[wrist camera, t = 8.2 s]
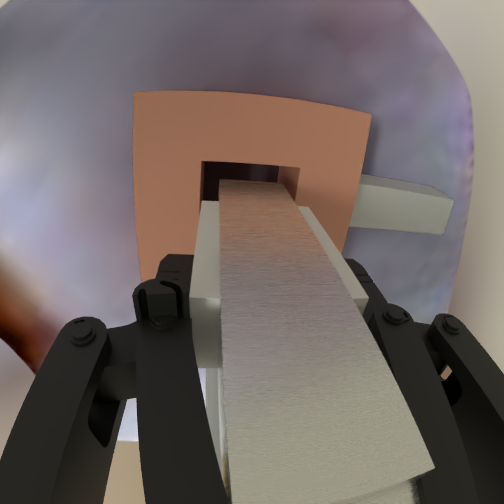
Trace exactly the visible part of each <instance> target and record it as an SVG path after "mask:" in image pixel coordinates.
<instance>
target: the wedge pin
mask: <svg viewBox="0 0 504 504" xmlns="http://www.w3.org/2000/svg"><path fill="white" fill-rule="evenodd" d="M218 201H219V263H220V313H219V339H218V368H217V375H218V404H219V427H220V446H221V464H222V479H223V483H224V487H225V491H226V494H227V498H228V501H229V504H420V502H419V496H418V490H417V485H416V480H418V479H419V478H421V477H423V476H424V475H426V474H427V473H429V472H430V471H432V470H433V469H434V468H435V467H434V464H433V462H432V459H431V457H430V455H429V452H428V450H427V447H426V445H425V443H424V441H423V438H422V436H421V434H420V431H419V429H418V427H417V425H416V423H415V420H414V418H413V416H412V414H411V412H410V409H409V407H408V405H407V403H406V401H405V399H404V397H403V395H402V393H401V390H400V388H399V386H398V384H397V382H396V380H395V378H394V376H393V374H392V372H391V370H390V368H389V366H388V364H387V362H386V360H385V358H384V356H383V354H382V352H381V351H380V349H379V347H378V345H377V343H376V341H375V339H374V337H373V335H372V333H371V332H370V330H369V328H368V326H367V324H366V322H365V320H364V319H363V317H362V315H361V313H360V311H359V309H358V308H357V306H356V304H355V302H354V300H353V299H352V297H351V295H350V293H349V292H348V290H347V288H346V286H345V285H344V283H343V281H342V279H341V278H340V276H339V274H338V272H337V271H336V269H335V267H334V266H333V264H332V262H331V260H330V259H329V257H328V255H327V254H326V252H325V250H324V249H323V247H322V245H321V244H320V242H319V240H318V239H317V237H316V236H315V234H314V232H313V231H312V229H311V227H310V226H309V224H308V223H307V221H306V219H305V218H304V216H303V215H302V213H301V211H300V210H299V208H298V207H297V205H296V204H295V202H294V200H293V199H292V197H291V196H290V194H289V193H288V191H287V190H286V188H285V187H284V185H283V184H282V183H274V182H260V181H245V180H228V179H220V180H219V196H218Z"/></svg>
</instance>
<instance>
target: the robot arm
mask: <svg viewBox="0 0 504 504" xmlns="http://www.w3.org/2000/svg"><path fill="white" fill-rule="evenodd" d="M297 207H298V208H299V210H300V211H301V213H302V215H303V216H304V218H305V219H306V221H307V223H308V224H309V226H310V227H311V229H312V231H313V232H314V234H315V236H316V237H317V239H318V240H319V242H320V244H321V245H322V247H323V249H324V250H325V252H326V254H327V255H328V257H329V259H330V260H331V262H332V264H333V266H334V267H335V269H336V271H337V272H338V274H339V276H340V278H341V279H342V281H343V283H344V285H345V286H346V288H347V290H348V292H349V293H350V295H351V297H352V299H353V300H354V302H355V304H356V306H357V308H358V309H359V311H360V313H361V315H362V317H363V319H364V320H365V322H366V324H367V326H368V328H369V330H370V332H371V333H372V335H373V337H374V339H375V341H376V343H377V345H378V347H379V349H380V351H381V352H382V354H383V356H384V358H385V360H386V362H387V364H388V366H389V368H390V370H391V372H392V374H393V376H394V378H395V380H396V382H397V384H398V386H399V388H400V390H401V393H402V395H403V397H404V399H405V401H406V403H407V405H408V407H409V409H410V412H411V414H412V416H413V418H414V420H415V423H416V425H417V427H418V429H419V431H420V434H421V436H422V438H423V441H424V443H425V445H426V447H427V450H428V452H429V455H430V457H431V459H432V462H433V464H434V467H435V468H434V469H433V470H432V471H430V472H429V473H427V474H426V475H424V476H423V477H421V478H419V479H418V480H416V485H417V490H418V496H419V502H420V504H504V374H503V373H502V371H501V370H500V369H499V367H498V366H497V365H496V363H495V362H494V361H493V360H492V358H491V357H490V356H489V354H488V353H487V352H486V351H485V349H484V348H483V347H482V346H481V345H480V343H479V342H478V341H477V340H476V338H475V337H474V336H473V335H472V334H471V332H470V331H469V330H468V329H467V328H466V326H465V325H464V324H463V323H462V322H461V321H460V320H459V319H457V318H456V317H454V316H453V315H449V314H438V315H436V317H435V318H434V320H433V322H432V324H431V325H429V324H423V323H418V322H414V321H413V319H412V317H411V316H410V314H409V313H408V312H407V311H406V310H404V309H403V308H401V307H399V306H397V305H394V304H389V303H387V301H386V300H385V298H384V297H383V295H382V294H381V292H380V291H379V289H378V288H377V286H376V285H375V283H373V280H372V279H371V278H370V276H368V273H367V272H366V270H365V269H364V268H363V266H362V265H360V264H359V263H358V262H356V261H355V260H353V259H344V258H343V257H342V255H341V254H340V252H339V251H338V249H337V248H336V246H335V245H334V243H333V242H332V240H331V239H330V237H329V236H328V234H327V233H326V231H325V230H324V229H323V227H322V226H321V224H320V223H319V221H318V220H317V218H316V217H315V216H314V214H313V213H312V211H311V210H310V209H309V207H304V206H297ZM132 297H133V302H134V308H135V314H136V319H137V321H136V322H133V323H131V324H129V325H125V326H121V327H115V328H109V329H107V328H106V326H105V324H104V323H103V322H102V321H101V320H100V319H97V318H94V317H80V318H76V319H73V320H72V321H70V322H68V323H67V324H66V325H65V326H64V327H63V328H62V329H61V331H60V333H59V334H58V336H57V338H56V340H55V341H54V343H53V345H52V347H51V349H50V350H49V352H48V354H47V356H46V358H45V360H44V362H43V364H42V365H41V367H40V369H39V371H38V373H37V375H36V377H35V379H34V381H33V383H32V385H31V387H30V390H29V392H28V394H27V396H26V398H25V400H24V402H23V405H22V407H21V409H20V411H19V413H18V416H17V418H16V420H15V423H14V425H13V428H12V430H11V433H10V435H9V438H8V440H7V443H6V446H5V448H4V451H3V454H2V456H1V459H0V504H103V501H104V496H105V490H106V485H107V480H108V476H109V471H110V466H111V462H112V458H113V453H114V449H115V444H116V441H117V437H118V433H119V429H120V425H121V421H122V417H123V413H124V409H125V406H126V402H127V399H131V398H136V399H137V422H138V438H139V450H140V461H141V471H142V479H143V487H144V494H145V502H146V504H229V501H228V498H227V494H226V491H225V487H224V483H223V480H222V476H221V472H220V468H219V464H218V460H217V456H216V452H215V448H214V444H213V439H212V435H211V431H210V426H209V422H208V417H207V413H206V408H205V403H204V398H203V393H202V388H201V383H200V378H199V373H198V368H218V339H219V313H220V263H219V201H202V203H201V210H200V216H199V223H198V230H197V238H196V245H195V253H194V255H191V254H167V255H166V256H165V257H164V258H163V259H162V260H161V261H160V264H159V267H158V272H157V274H156V278H154V279H149V280H147V281H145V282H142V283H141V284H140V285H138V286H137V287H136V288H135V290H134V292H133V295H132ZM447 366H449V367H450V368H451V370H452V373H451V374H450V375H449V376H448V378H447V379H446V380H445V379H443V378H442V377H441V374H442V373H443V371H444V370H445V369H446V367H447Z"/></svg>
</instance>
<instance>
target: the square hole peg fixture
mask: <svg viewBox="0 0 504 504" xmlns="http://www.w3.org/2000/svg"><path fill="white" fill-rule="evenodd" d="M371 117H372V114H369V113H365V112H360V111H356V110H351V109H347V108H342V107H337V106H332V105H327V104H322V103H316V102H310V101H304V100H297V99H290V98H283V97H275V96H266V95H257V94H246V93H233V92H216V91H141V92H134V106H133V184H134V205H135V220H136V233H137V244H138V255H139V264H140V273H141V281H142V282H145V281H147V280H149V279H154V278H156V274H157V272H158V267H159V264H160V261H161V260H162V259H163V258H164V257H165V256H166V255H167V254H191V255H194V253H195V245H196V238H197V230H198V223H199V216H200V210H201V203H202V201H203V187H204V166H205V161H219V162H237V163H253V164H266V165H277V166H279V173H278V181H277V183H282V184H283V185H284V187H285V188H286V190H287V191H288V193H289V194H290V196H291V197H292V199H293V200H294V202H295V204H296V205H297V206H304V207H309V209H310V210H311V211H312V213H313V214H314V216H315V217H316V218H317V220H318V221H319V223H320V224H321V226H322V227H323V229H324V230H325V231H326V233H327V234H328V236H329V237H330V239H331V240H332V242H333V243H334V245H335V246H336V248H337V249H338V251H339V252H340V254H341V255H342V252H343V248H344V244H345V240H346V236H347V232H348V229H349V227H361V228H374V229H386V230H397V231H409V232H419V233H430V234H440V235H443V234H444V231H445V228H446V225H447V222H448V219H449V216H450V213H451V209H452V206H453V203H454V200H453V199H451V198H450V197H448V196H447V195H445V194H443V193H442V192H440V191H439V190H437V189H435V188H434V187H430V186H426V185H421V184H416V183H411V182H406V181H400V180H395V179H389V178H384V177H378V176H372V175H366V174H361V172H362V167H363V162H364V157H365V151H366V146H367V141H368V135H369V129H370V123H371ZM206 413H207V417H208V422H209V426H210V431H211V435H212V439H213V444H214V448H215V452H216V456H217V460H218V464H219V468H220V472H221V476H222V464H221V446H220V427H219V404H218V375H217V368H206ZM222 480H223V479H222Z"/></svg>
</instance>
